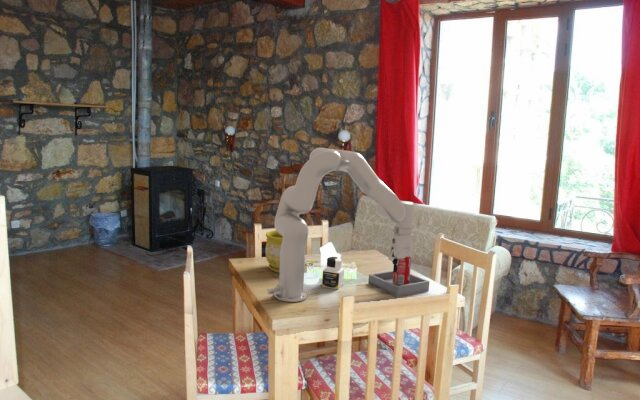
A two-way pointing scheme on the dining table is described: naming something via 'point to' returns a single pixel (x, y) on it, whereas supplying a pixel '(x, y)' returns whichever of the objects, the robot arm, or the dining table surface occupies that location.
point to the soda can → (402, 271)
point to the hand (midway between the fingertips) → (399, 272)
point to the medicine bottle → (333, 273)
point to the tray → (386, 284)
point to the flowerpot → (273, 250)
